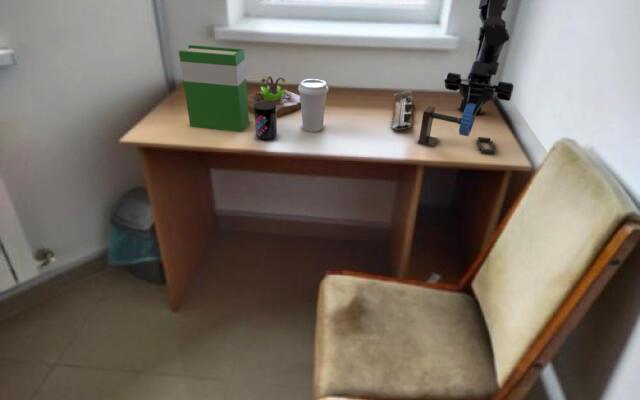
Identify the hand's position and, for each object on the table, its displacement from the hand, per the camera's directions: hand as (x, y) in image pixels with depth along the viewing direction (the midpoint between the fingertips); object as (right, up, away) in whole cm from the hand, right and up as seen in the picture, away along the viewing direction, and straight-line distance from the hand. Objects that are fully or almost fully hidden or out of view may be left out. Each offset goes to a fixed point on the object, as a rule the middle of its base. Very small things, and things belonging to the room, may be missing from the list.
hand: (468, 113), depth 125 cm
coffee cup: (-45, -1, +19) cm, 49 cm away
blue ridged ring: (+1, -1, +2) cm, 3 cm away
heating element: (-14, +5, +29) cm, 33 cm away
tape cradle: (+9, -9, +10) cm, 16 cm away
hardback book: (-76, 0, +20) cm, 78 cm away
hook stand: (-6, -8, +11) cm, 14 cm away
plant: (-60, +9, +34) cm, 70 cm away
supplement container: (-59, -5, +13) cm, 61 cm away
